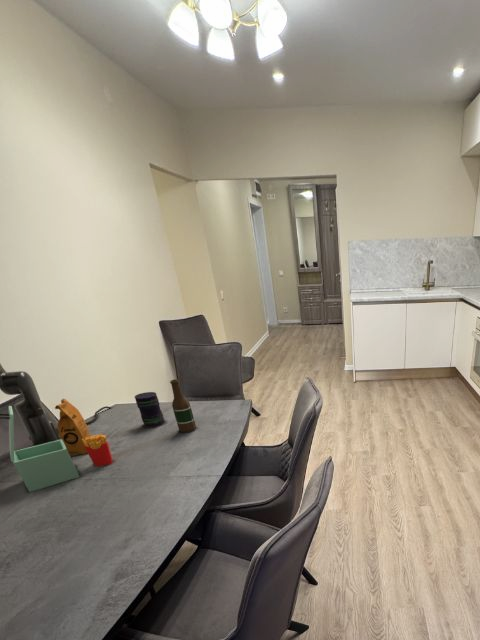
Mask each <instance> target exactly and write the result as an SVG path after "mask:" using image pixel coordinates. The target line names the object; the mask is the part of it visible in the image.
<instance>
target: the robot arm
mask: <svg viewBox="0 0 480 640" xmlns="http://www.w3.org/2000/svg"><path fill="white" fill-rule="evenodd" d="M0 391H1V392H2V393H3V394H5V395H7V396H8V395H9V396H14V395H15V396H16V395H22V396H23V399H22V400H20V401H19V402H16V403H15V404H14V406H13V407H14V410H15V411H16V413H17V416H18V417H19V419H20V422H21V423H22V425H23V427H24V429H25V431H26V433H27V435H28V439H29V441H31V443H32V445H33V446H37V445H41V444H45V443H49V442H53V441H57V440H61V437H60V435H59V433H58V427H55V426H54V423H53V422H52V421H50V420H49V417H48V415H47V413H46V411H45V409H44V407H43V405H42V401H41V397H40V395H39V392H38V390H37V387H36V385H35V382H34V380H33V378H32V376H31V375H30V374H29V373H28V372H26V371H24V370H22V371H21V370H19V371H6V370H5V369H4V367H3V365H2V364H1V363H0ZM105 409H108V410H109V409H112V407H111V406H107V405H106V406H102V407H101V408H99V409H98V410H97V411H95V412H94V418H92V419H91V420H89V421H87V422H86V421H85V423H86V425H87V426H88V425H89V424H92V423H93V422H95V421H96V420H97V419H98V418H99V415H98V414H99V413H100V412H101V411H103V410H105Z"/></svg>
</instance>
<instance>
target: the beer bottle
mask: <svg viewBox="0 0 480 640" xmlns="http://www.w3.org/2000/svg"><path fill="white" fill-rule="evenodd" d="M169 383H170V384H171V389H172V394H173V400H172V404H171V407H172V411H173V414H174V417H175V421H176V425H177V427H178V431H180V432H182V433H189V432H193V431H195V430H196V428H197V425H196V420H195V417H194V414H193V410H192V406H191V403H190V402H189V400H188V398H186V397H185V396H184V394H183V391H182V388H181V385H180V381H179V379H171V380H170V381H169Z"/></svg>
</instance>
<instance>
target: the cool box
mask: <svg viewBox="0 0 480 640" xmlns="http://www.w3.org/2000/svg"><path fill="white" fill-rule="evenodd" d="M12 463H13V465H14V467H15V468H16V470H17V472H18V474H19V476H20V477H21V480H22V481H23V483H24V485H25V487H26V489H27V490H28V492H29V493H30V492H34V491H38V490H40V489H41V490H42V489H44V488H47V487H50V486H54V485H57V484H60V483H64V482H67V481H70V480H74V479H77V478H80V475H79V472H78V471H77V468H76V466H75V464H74V461H73V460H72V456H71V455H69V453H68V451H67V449H66V447H65V444H64V442H63V440H62V439H61V438H60V440H57V441H53V442H49V443H45V444H41V445H37V446H34V445H33V446H29V447H25V448H21V449H17V450H14V462H12Z"/></svg>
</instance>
